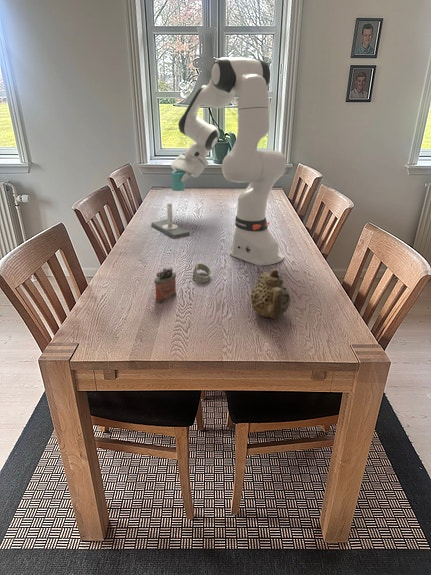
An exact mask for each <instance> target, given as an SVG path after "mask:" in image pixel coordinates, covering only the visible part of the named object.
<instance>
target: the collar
mask: <svg viewBox="0 0 431 575" xmlns="http://www.w3.org/2000/svg"><path fill="white" fill-rule="evenodd" d="M184 175H185V172H183V171H174V170H173V171H171V190H172V191H175V192H181V191H182V192H183V191H185V190H186V187H185V185H186V180H185V181H184V182H181V181H180V178H181V177H183V176H184Z"/></svg>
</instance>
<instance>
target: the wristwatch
mask: <svg viewBox="0 0 431 575" xmlns="http://www.w3.org/2000/svg"><path fill="white" fill-rule="evenodd" d="M199 270H201V271H203V272H205V273H206V274H207V276H202V275H200V274H199V273H198V271H199ZM211 274H212V270H211V269H210V267H209V265H208V266H207V265H206V264H204V263H196V265H195V268H194V271H193V276H192V279H193V280H194V281H195V282H197V283H200V284H206V283H208V282H209V281H210V277H211Z"/></svg>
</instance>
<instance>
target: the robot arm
mask: <svg viewBox="0 0 431 575" xmlns="http://www.w3.org/2000/svg"><path fill="white" fill-rule="evenodd" d="M269 66H270V65H269V64H268V63H267V62H266V61H265V60H262V59H259V58H258V59H257V58H256V59H253V58H247V57H242V56H235V57H227V56H225V57H224V56H223V57H220V58H216V59H215V60H214V62H213V64H212V66H211V72H210V80H209V82H208V84H207V85H206V84H204V85H202V86H201V87H199V88H198V90H197V91H196V93H195V94H194V95H193V97H192V98H191V101H190V102H189V104H188V106H187V108H186V109H185V111H184V112H183V114H182V116H181V117H180V118H179V121H178V123H177V124H178V129H179V132H180V133H181V134H183V135H184V136H186V137H188V138H189V139H191V140H192V141H193V143H192V144H190V146H189V147H188V148H187V149H186V151H185V152H184V153H183V154H179V155H178V156H177V157H176V158H175V159H174V160H173V161H172V162H171V165H170V167H171V169H172V170H173V171H183V172H185V175H184V176H183V177H181V178H180V181H181V182H184V181H185V182H186V180H188V179H189V178H191V177H193V178H198V177H200V176H201V174H202V173H203V171H204V170H206V169H205V168H206V167H207V166H209V162H208V160H207V159H206V158H207V156H208V154H209V152H211V151H212V150H213V149H214V148H215V146H216V145H217V144H218V142H219V139H220V136H221V134H220V131H219V128H217V126H215V125H213V124H209V123H208V122H207V121H205V120H204V119H202V118H201V117H200V116H199V115H198V114H197V113H198V111H199V110H200V108H201V106H206V107H209V108H214V109H223V108H226V107H228V106H230V104H231V103H232V102H233V99H234V98H235V95H237V135H236V138H235V141H234V144H233V147H232V148H231V150H230V151H229V152H228V153H227V154H226V155H225V156H224V158H223V160H222V163H221V172H222V174H223V177H224V178H225V179H226V181H228V182H233V183H238V184H239V183H240V184H241V183H249V184H248V185H247V187H246V189H244V190H243V191H241V193H239V195H238V197H237V208H236V216H235V219H234V225H235V230H234V233H233V238H232V245H231V248H230V251H229V256H232V257H234V258H237V259H239V260H242V261H246V262H248V263H250V264H252V265H253V264H254V266H260V267H261V266H270V265H274V264H277V263H280V262H282V261H283V260H284V259H285V256H284V255H283V254H282V253H281V252H279V243H278V241H277V239H276V238H275V237H274V236H273V235H272V233H271V231H270V230H269V229H268V226H269V225H270V223H271V222H269V221H268V222H267V217H266V210H267V202H268V198H269V195H270V192H271V191H272V188H273V186H274V185H275V184H276V183H277V181H278V180H279V179H280V178H281V177H282V176H283V175H284V174H285V173H286V168H287V160H286V157H285V155H284V154H283V153H282V152H281V151H279V150H275V149H261V150H258V146H259V142H260V141H261V140H262V139H263V138H265V137H266V136H267V135H268V133H269V131H270V102H269V101H270V100H269V92H268V85H269V84H270V83H269V82H270V80H271V69H270V67H269Z"/></svg>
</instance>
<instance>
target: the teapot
mask: <svg viewBox="0 0 431 575" xmlns="http://www.w3.org/2000/svg"><path fill="white" fill-rule="evenodd" d="M283 283H284V279H283V276H281V275H280V274H279V271H278V269H277V268H273V269H271V270H270V272H266V271H265V272H264V271H263V272H262V273H260V274H259V276H258V277H257V283H256V284H254V286H253V289H252V290H251V293H250V301H251V307H252V309H253V311H254V312H255V313H257V314H259V315H261V316H262V317H264V318H271V319H274V320H275V319H278V318H279V317H280V316H282V315H283V314H284V313H285V312H287V310H288V308H289V306H290V305H291V301H292V300H291V294H290V291H289V290H288V288H287V286H286V285H283Z"/></svg>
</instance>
